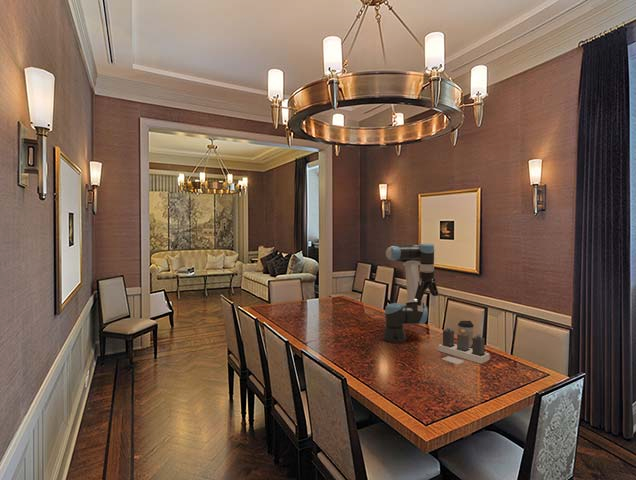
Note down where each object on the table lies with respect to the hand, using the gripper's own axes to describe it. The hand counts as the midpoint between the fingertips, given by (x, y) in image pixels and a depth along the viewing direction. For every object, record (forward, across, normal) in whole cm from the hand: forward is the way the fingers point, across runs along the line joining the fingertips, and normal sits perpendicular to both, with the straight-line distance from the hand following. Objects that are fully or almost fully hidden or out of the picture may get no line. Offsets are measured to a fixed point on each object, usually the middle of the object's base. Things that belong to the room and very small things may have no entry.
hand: (426, 309), depth 197 cm
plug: (+27, +17, -13) cm, 34 cm away
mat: (+28, +6, -12) cm, 31 cm away
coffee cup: (+28, +35, -6) cm, 45 cm away
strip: (+28, +17, -13) cm, 35 cm away
